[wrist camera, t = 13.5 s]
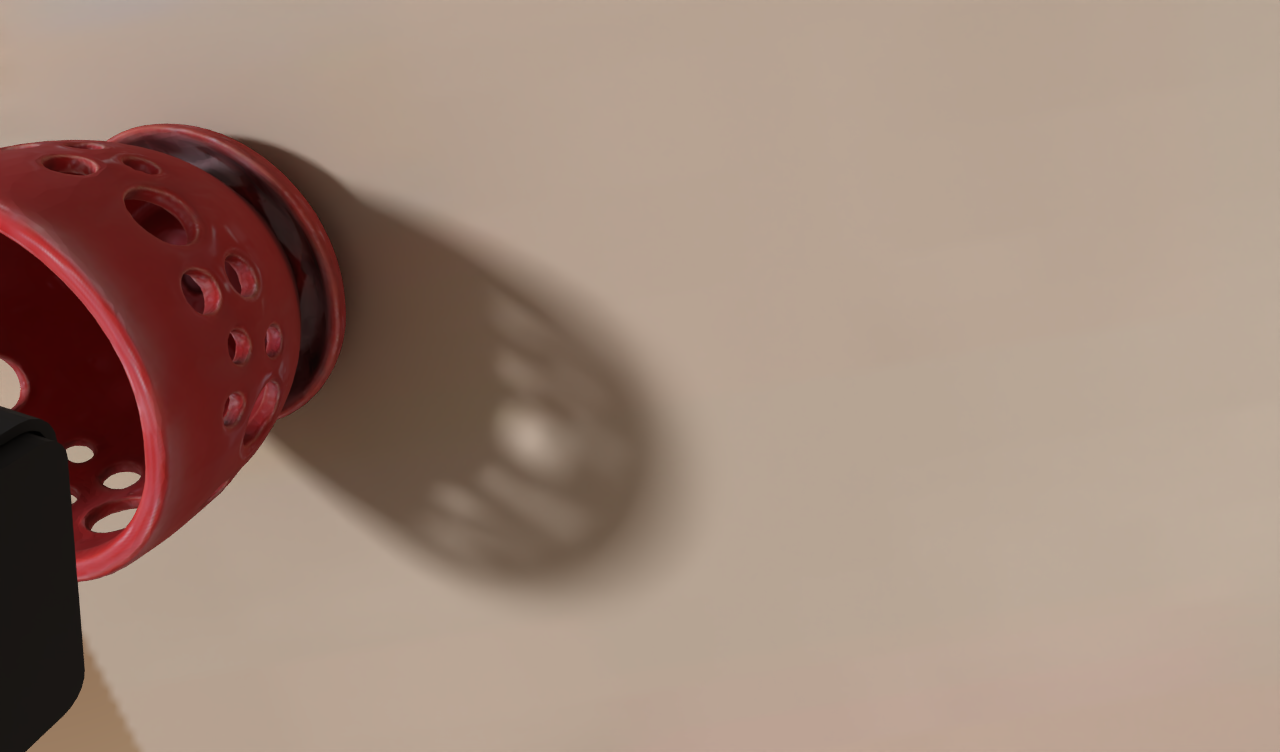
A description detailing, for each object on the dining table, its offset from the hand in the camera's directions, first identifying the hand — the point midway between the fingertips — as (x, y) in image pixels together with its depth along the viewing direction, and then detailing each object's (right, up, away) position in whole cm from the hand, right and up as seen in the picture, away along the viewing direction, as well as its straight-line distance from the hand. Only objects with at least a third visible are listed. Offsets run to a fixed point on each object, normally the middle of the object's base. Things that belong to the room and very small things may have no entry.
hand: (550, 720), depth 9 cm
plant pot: (-15, +7, +34) cm, 38 cm away
